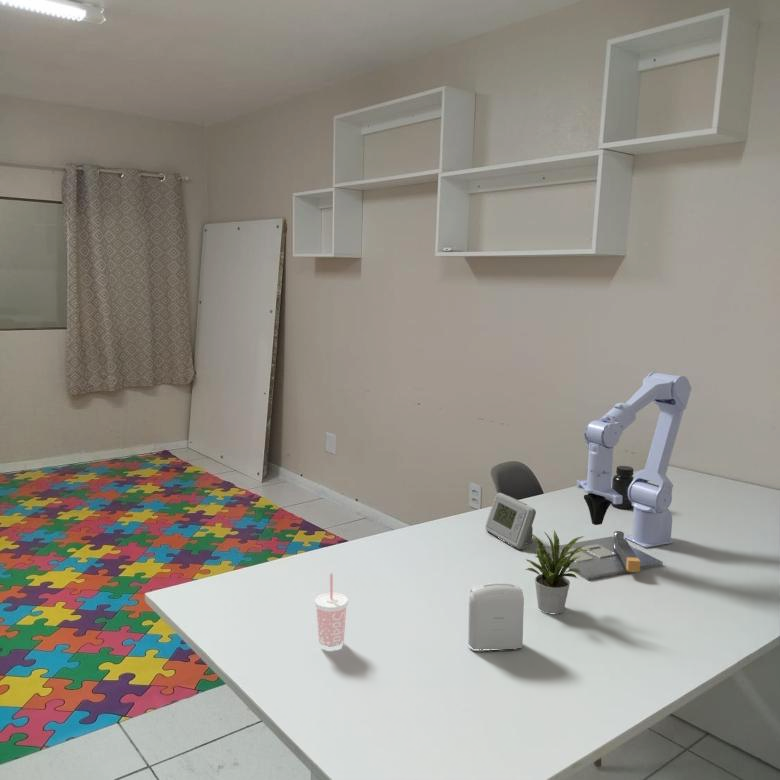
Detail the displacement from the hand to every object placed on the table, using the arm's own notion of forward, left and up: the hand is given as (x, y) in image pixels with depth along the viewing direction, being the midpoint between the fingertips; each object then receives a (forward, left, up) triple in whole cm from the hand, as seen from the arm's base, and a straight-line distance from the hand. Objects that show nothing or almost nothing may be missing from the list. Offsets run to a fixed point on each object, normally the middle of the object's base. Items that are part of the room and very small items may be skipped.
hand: (597, 523), depth 175 cm
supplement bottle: (-33, -28, -9) cm, 44 cm away
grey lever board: (0, +2, -8) cm, 9 cm away
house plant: (+26, +20, -9) cm, 34 cm away
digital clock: (+14, -17, -9) cm, 24 cm away
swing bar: (-3, +8, -7) cm, 11 cm away
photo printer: (+46, +28, -9) cm, 55 cm away
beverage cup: (+74, +16, -9) cm, 76 cm away
